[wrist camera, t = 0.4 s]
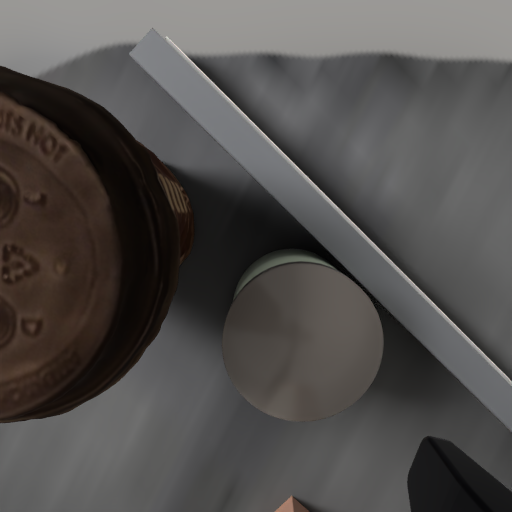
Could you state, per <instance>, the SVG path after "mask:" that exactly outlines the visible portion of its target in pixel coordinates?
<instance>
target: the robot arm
mask: <svg viewBox="0 0 512 512" xmlns="http://www.w3.org/2000/svg"><path fill="white" fill-rule="evenodd" d="M407 485H408V493H409V500H410V507H411V512H512V492H511V491H510V490H509V489H508V488H506V487H505V486H504V485H503V484H501V483H500V482H499V481H498V480H497V479H495V478H494V477H493V476H492V475H491V474H489V473H488V472H487V471H486V470H484V469H483V468H482V467H481V466H480V465H478V464H477V463H476V462H475V461H474V460H472V459H471V458H470V457H469V456H467V455H466V454H465V453H464V452H463V451H461V450H460V449H459V448H458V447H457V446H455V445H454V444H453V443H452V442H450V441H448V440H445V439H441V438H436V437H431V436H427V437H425V438H424V439H423V440H422V442H421V444H420V446H419V448H418V451H417V453H416V456H415V458H414V461H413V463H412V466H411V468H410V471H409V474H408V481H407Z"/></svg>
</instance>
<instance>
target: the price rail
mask: <svg viewBox="0 0 512 512" xmlns="http://www.w3.org/2000/svg"><path fill="white" fill-rule="evenodd" d="M129 55H130V56H131V57H132V58H133V59H134V60H135V61H136V62H137V63H138V64H139V66H140V67H141V68H142V69H143V70H144V71H145V72H146V73H147V74H148V75H149V76H150V77H151V78H152V79H153V80H154V81H155V82H156V83H157V84H158V85H159V86H160V87H161V88H162V89H163V90H164V91H165V92H166V93H167V94H168V95H169V96H170V97H171V98H172V99H173V100H175V101H176V102H177V103H178V104H179V105H180V106H181V107H182V108H183V109H184V110H185V111H186V112H187V113H188V114H189V115H190V116H191V117H192V118H193V119H194V120H195V121H196V122H197V123H198V124H199V125H200V126H201V127H202V128H203V129H204V130H205V131H206V132H207V133H208V134H209V135H210V136H211V137H212V138H213V139H214V140H215V141H216V142H217V143H218V144H219V145H220V146H221V147H222V148H223V149H224V150H225V151H226V152H227V153H228V154H229V155H230V156H231V157H232V158H233V159H234V160H235V161H236V162H237V163H238V164H239V165H240V166H241V167H242V168H243V169H244V170H246V171H247V172H248V173H249V174H250V175H251V176H252V177H253V178H254V179H255V180H256V181H257V182H258V183H259V184H260V185H261V186H262V187H263V188H264V189H265V190H266V191H267V192H268V193H269V194H270V195H271V196H272V197H273V198H274V199H275V200H276V201H277V202H278V203H279V204H280V205H281V206H282V207H283V208H284V209H285V210H286V211H287V212H288V213H289V214H290V215H291V216H292V217H293V218H294V219H295V220H296V221H297V222H298V223H299V224H300V225H301V226H302V227H303V228H304V229H305V230H306V231H307V232H308V233H309V234H310V235H311V236H312V237H313V238H314V239H316V240H317V241H318V242H319V243H320V244H321V245H322V246H323V247H324V248H325V249H326V250H327V251H328V252H329V253H330V254H331V255H332V256H333V257H334V258H335V259H336V260H337V261H338V262H339V263H340V264H341V265H342V266H343V267H344V268H345V269H346V270H347V271H348V272H349V273H350V274H351V275H352V276H353V277H354V278H355V279H356V280H357V281H358V282H359V283H360V284H361V285H362V286H363V287H364V288H365V289H366V290H367V291H368V292H369V293H370V294H371V295H372V296H373V297H374V298H375V299H376V300H377V301H378V302H379V303H380V304H381V305H382V306H383V307H384V308H385V309H387V310H388V311H389V312H390V313H391V314H392V315H393V316H394V317H395V318H396V319H397V320H398V321H399V322H400V323H401V324H402V325H403V326H404V327H405V328H406V329H407V330H408V331H409V332H410V333H411V334H412V335H413V336H414V337H415V338H416V339H417V340H418V341H419V342H420V343H421V344H422V345H423V346H424V347H425V348H426V349H427V350H428V351H429V352H430V353H431V354H432V355H433V356H434V357H435V358H436V359H437V360H438V361H439V362H440V363H441V364H442V365H443V366H444V367H445V368H446V369H447V370H448V371H449V372H450V373H451V374H452V375H453V376H454V377H455V378H456V379H458V380H459V381H460V382H461V383H462V384H463V385H464V386H465V387H466V388H467V389H468V390H469V391H470V392H471V393H472V394H473V395H474V396H475V397H476V398H477V399H478V400H479V401H480V402H481V403H482V404H483V405H484V406H485V407H486V408H487V409H488V410H489V411H490V412H491V413H492V414H493V415H494V416H495V417H496V418H497V419H498V420H499V421H500V422H501V423H502V424H503V425H504V426H505V427H506V428H507V429H508V430H509V431H510V432H511V433H512V381H511V380H510V379H509V378H508V377H507V376H506V375H505V374H504V373H503V372H502V371H501V370H500V369H499V368H498V367H497V366H496V365H495V364H494V363H493V362H492V361H491V360H490V359H489V358H488V357H487V356H486V355H485V354H484V353H483V352H482V351H481V350H480V349H479V348H478V347H477V346H476V345H475V344H474V343H473V342H472V341H471V340H470V339H469V338H468V337H467V336H466V335H465V334H464V333H463V332H462V331H461V330H460V329H459V328H458V327H457V326H456V325H455V324H454V323H453V322H452V321H451V320H450V319H449V318H448V317H447V316H446V315H445V314H444V313H443V312H442V311H441V310H440V309H439V308H438V307H437V306H436V305H435V304H434V303H433V302H432V301H431V300H430V299H429V298H428V297H427V296H426V295H425V294H424V293H423V292H422V291H421V290H420V289H419V288H418V287H417V286H416V285H415V284H414V283H413V282H412V281H411V280H410V279H409V278H408V277H407V276H406V275H405V274H404V273H403V272H402V271H401V270H400V269H399V268H398V267H397V266H396V265H395V264H394V263H393V262H392V261H391V260H390V259H389V258H388V257H387V256H386V255H385V254H384V253H383V252H382V251H381V250H380V249H379V248H378V247H377V246H376V245H375V244H374V243H373V242H372V241H371V240H370V239H369V238H368V237H367V236H366V235H365V234H364V233H363V232H362V231H361V230H360V229H359V228H358V227H357V226H356V225H355V224H354V223H353V222H352V221H351V220H350V219H349V218H348V217H347V216H346V215H345V214H344V213H343V212H342V211H341V210H340V209H339V208H338V207H337V206H336V205H335V204H334V203H333V202H332V201H331V200H330V199H329V198H328V197H327V196H326V195H325V194H324V193H323V192H322V191H321V190H320V189H319V188H318V187H317V186H316V185H315V184H314V183H313V182H312V181H311V180H310V179H309V178H308V177H307V176H306V175H305V174H304V173H303V172H302V171H301V170H300V169H299V168H298V167H297V166H296V165H295V164H294V163H293V162H292V161H291V160H290V159H289V158H288V157H287V156H286V155H285V154H284V153H283V152H282V151H281V150H280V149H279V148H278V147H277V146H276V145H275V144H274V143H273V142H272V141H271V140H270V139H269V138H268V137H267V136H266V135H265V134H264V133H263V132H262V131H261V130H260V129H259V128H258V127H257V126H256V125H255V124H254V123H253V122H252V121H251V120H250V119H249V118H248V117H247V116H246V115H245V114H244V113H243V112H242V111H241V110H240V109H239V108H238V107H237V106H236V105H235V104H234V103H233V102H232V101H231V100H230V99H229V98H228V97H227V96H226V95H225V94H224V93H223V92H222V91H221V90H220V89H219V88H218V87H217V86H216V85H215V84H214V83H213V82H212V81H211V80H210V79H209V78H208V77H207V76H206V75H205V74H204V73H203V72H202V71H201V70H200V69H199V68H198V67H197V66H196V65H195V64H194V63H193V62H192V61H191V60H190V59H189V58H188V57H187V56H186V55H185V54H184V53H183V52H182V51H181V50H180V49H179V48H178V47H177V46H176V45H175V44H174V43H173V42H172V41H171V40H170V39H169V38H168V37H166V38H165V39H163V38H162V37H161V36H160V35H159V34H158V33H157V32H156V31H155V30H154V29H153V28H152V29H151V30H150V31H149V32H148V33H147V35H146V36H145V37H144V38H143V39H142V40H141V41H140V42H139V43H138V44H137V46H136V47H135V48H134V49H133V50H132V51H131V52H130V53H129Z"/></svg>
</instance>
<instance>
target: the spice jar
mask: <svg viewBox="0 0 512 512" xmlns="http://www.w3.org/2000/svg"><path fill="white" fill-rule="evenodd" d="M383 346H384V341H383V330H382V325H381V321H380V318H379V315H378V313H377V311H376V309H375V307H374V305H373V303H372V302H371V300H370V299H369V297H368V296H367V295H366V294H365V292H364V291H363V290H362V289H361V288H360V287H359V286H358V285H357V284H356V283H354V282H353V281H352V280H351V279H350V278H349V277H347V276H346V275H344V274H343V273H341V272H340V271H338V270H337V269H336V268H335V267H334V266H333V265H332V264H331V263H329V262H328V261H327V260H326V259H324V258H323V257H321V256H319V255H317V254H315V253H313V252H310V251H307V250H301V249H282V250H277V251H274V252H271V253H268V254H266V255H264V256H262V257H261V258H259V259H258V260H256V261H255V262H254V263H253V264H251V265H250V266H249V267H248V269H247V270H246V271H245V272H244V274H243V275H242V277H241V278H240V280H239V282H238V284H237V287H236V290H235V294H234V298H233V302H232V304H231V306H230V308H229V311H228V314H227V317H226V321H225V325H224V330H223V335H222V352H223V359H224V363H225V367H226V370H227V372H228V375H229V377H230V379H231V381H232V383H233V385H234V386H235V387H236V389H237V390H238V391H239V393H240V394H241V395H242V396H243V397H244V398H245V399H246V400H247V401H248V402H249V403H251V404H252V405H253V406H254V407H256V408H257V409H259V410H261V411H262V412H264V413H266V414H269V415H271V416H273V417H276V418H280V419H283V420H289V421H300V422H305V421H315V420H320V419H324V418H327V417H330V416H333V415H335V414H338V413H340V412H342V411H343V410H345V409H347V408H348V407H350V406H351V405H352V404H354V403H355V402H356V401H357V400H358V399H359V398H360V397H361V396H362V395H363V394H364V393H365V392H366V391H367V389H368V388H369V387H370V385H371V384H372V382H373V380H374V378H375V377H376V375H377V372H378V370H379V367H380V364H381V360H382V355H383Z"/></svg>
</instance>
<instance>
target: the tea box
mask: <svg viewBox="0 0 512 512" xmlns="http://www.w3.org/2000/svg"><path fill="white" fill-rule="evenodd" d="M275 512H309V511H308V510H307V509H306V508H305V507H304V506H302V505H301V504H300V503H299V502H298V501H297V500H296V499H295V498H294V497H293V496H291V497H290V498H289V499H288V500H287V501H286V502H285V503H284V504H283V505H282V506H280V507H279V508H278V509H277V510H276V511H275Z"/></svg>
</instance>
